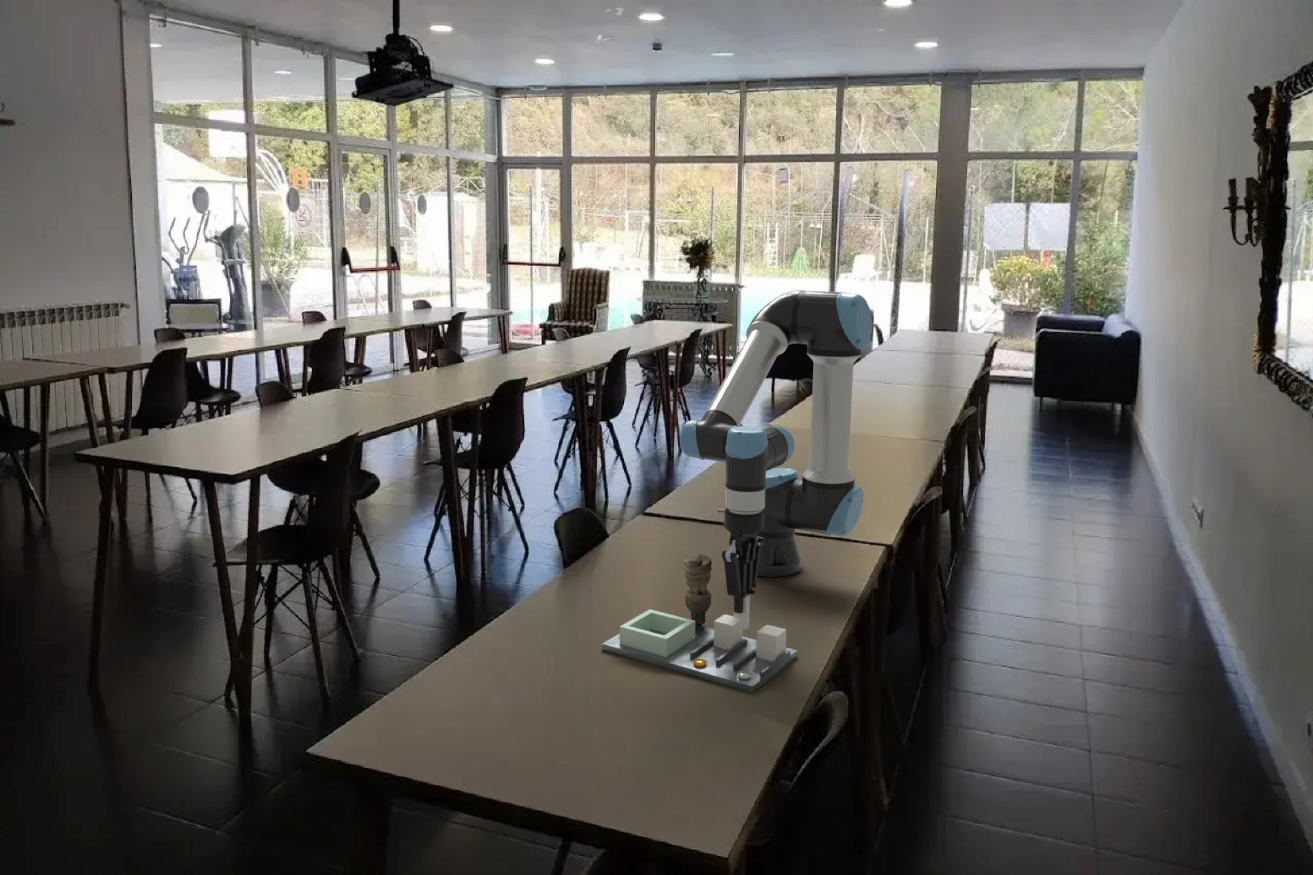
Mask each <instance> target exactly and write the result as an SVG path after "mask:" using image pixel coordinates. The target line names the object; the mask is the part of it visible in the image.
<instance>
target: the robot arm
mask: <svg viewBox="0 0 1313 875" xmlns="http://www.w3.org/2000/svg"><path fill="white" fill-rule="evenodd" d="M872 334H873V321H872V312H871V309H870V306H869V304H868V302H867V300H866V298H864V297H863V296H862V295H861V294H858V293H853V292H845V291H820V290H819V291H818V290H804V289H803V290H801V289H797V290H791V291H788V292H785V293H782V294H781V295H779V296H777V297H775V298H774V299H773V300H771V301H769V302H768V303H767V304H766V305H764V307H762V308H760V310H759V311H758V312H757V314H756V315H754V317H753V318H752V320H751V321H750V324H749V325H748V327H747V329H746V331H745V335H746V339H745V341H744V343H743V345H742V346H741V349H740V350H739V353H737V355H736V358H735V359H734V361H733V362H732V363H733V364H732V365H731V366H730V368H729V370H728V372H727V373H726V376H725V377H724V379H723V381H722V383H721V384H720V386H719V388H718V390H717V392H716V393H715V395H714V397H713V399H712V400H711V402H710V404H709V406H708V407H707V409H706V411H705V413H704V414H703V416H702V418H701V419H700V420H699V419H695V420H693V419H691V420H689V421H687V422H685V423H684V425H683V426H682V428H681V432H680V436H679V445H680V448H681V451H682V453H683V454H684V455H685V456H687V457H691V458H693V459H694V458H695V459H697V460H698V459H699V460H701V461H703V460H706V461H707V460H708V461H713V462H714V461H715V462H723V463H725V488H724V490H723V492H724V495H725V496H724V499H725V500H724V506H725V509H724V514H723V515H724V520H723V525H724V528H725V529H726V530H727V531H728V532H729V533H730V536H729V540H728V545H729V547H728V549H727V550H723V551H722V552H721V558H722V561H723V562H724V563H723V564H724V572H725V573H724V575H725V582H726V583H725V584H726V593H727V596H730V597H733V608H732V609H733V612H732V614H733V615H732V616H734V617H738V618H742V619H743V630H747V629H748V628H750V603H751V595H755V594H756V590H754V589H756V587H757V584H758V577H767V578H768V577H769V578H774V577H775V578H779V577H781V578H782V577H788V576H791V575H794V574H797V573H799V572H800V571H801V569H802V557H801V554H800V549H799V546H798V543H797V542H798V541H797V538H796V530H799V531H805V532H809V533H811V532H812V533H817V534H821V535H826V536H829V537H830V536H835V537H847V536H848V535H850V533H852V531H853V530H854V529H855V527H856V526H857V524H858V521H859V518H860V517H861V516H860V515H861V513H862V508H863V504H864V493H863V492H864V491H863V488H862V487H860V486H858V485H855V484H856V483H855V481H856V477H855V474H854V473H853V472H852V471H850V469H849V463H850V440H851V420H852V400H853V377H854V363H856V361H857V360H858V359H859V358H860V357H861V356H862V350H864V349H866V348H867V347H869V345H870V343H871V338H872V337H871V336H872ZM792 344H800V345H807V346H806V348H807V349H806V355H807V356H808V357H809V358H810V359H811V361H812V362H813V369H812V370H813V372H812V395H811V397H812V398H811V399H812V400H811V421H810V444H809V445H810V446H809V447H810V448H809V467H808V468H807V469H806V470H805V471H804V472H802V475H801V478H799V473H798V471H797V470H796V469H794V468H788V467H780V466H782V465H783V464H785V462H787V461H788V460H790V459H791V458H792V456H793V454H794V452H795V441H794V437H793V436H792V434H791V433H790V432H789V431H788V430H787V429H786V428H784V427H782V426H768V427H766V428H763V427H760V426H754V425H741V424H742V423H743V421H744V420H745V419H744V418H745V417H746V415H747V413H748V411H749V410H750V407H751V405H752V404H753V402H754V400H755V399H756V396H757V395H758V393H759V391H760V388H761V387H762V386H763V383H764V382H765V379H766V378H767V376H768V374H769V372H770V370H771V368H772V366H773V365H774V362H775V361H776V359H777V357H778V356H779V355H782V354H783V353H785V351H787V348H788V346H789V345H792ZM753 588H754V589H753Z"/></svg>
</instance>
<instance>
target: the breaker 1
mask: <svg viewBox="0 0 1313 875" xmlns="http://www.w3.org/2000/svg"><path fill="white" fill-rule="evenodd" d="M713 629H714V646H716V647H720V648H724V649H727V650H730V649H731V648H733V647H734V646H735V645H737V644H738V643H740V642H741V641H742V640H743V637H744V635H743V633H744V629H743V619H742V618H738V617H734V616H733V615H729V614H726V613H725V614H723V615H721V616H720V617H718V618H716V619H715V620H714V621H713Z"/></svg>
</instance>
